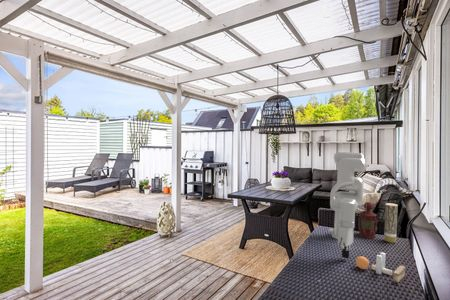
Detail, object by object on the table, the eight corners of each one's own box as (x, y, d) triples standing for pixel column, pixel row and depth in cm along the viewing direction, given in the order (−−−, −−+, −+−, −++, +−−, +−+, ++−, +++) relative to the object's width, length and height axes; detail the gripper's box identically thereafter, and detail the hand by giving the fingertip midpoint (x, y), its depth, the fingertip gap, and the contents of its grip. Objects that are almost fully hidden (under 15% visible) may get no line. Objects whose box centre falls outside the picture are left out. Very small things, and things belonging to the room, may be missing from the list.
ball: (367, 272, 127) (360, 271, 132) (374, 263, 128) (367, 262, 134) (357, 262, 128) (351, 261, 133) (364, 253, 129) (358, 253, 135)
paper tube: (392, 243, 169) (393, 205, 169) (381, 240, 175) (383, 203, 175) (398, 242, 172) (399, 205, 172) (387, 239, 178) (389, 202, 178)
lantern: (373, 240, 175) (374, 196, 174) (354, 235, 184) (356, 193, 184) (379, 236, 183) (381, 194, 183) (361, 232, 192) (363, 191, 192)
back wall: (393, 281, 119) (393, 272, 119) (400, 273, 127) (400, 265, 127) (398, 282, 117) (398, 274, 117) (404, 274, 126) (405, 266, 126)
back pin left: (378, 269, 130) (379, 253, 130) (380, 268, 132) (380, 251, 131) (383, 271, 128) (384, 254, 128) (385, 270, 130) (386, 253, 130)
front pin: (371, 265, 130) (391, 271, 124) (373, 263, 132) (392, 269, 125) (371, 269, 130) (390, 276, 124) (373, 268, 132) (392, 274, 125)
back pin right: (375, 272, 126) (375, 255, 126) (376, 271, 128) (377, 254, 128) (380, 274, 125) (381, 257, 125) (382, 273, 126) (382, 256, 126)
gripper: (345, 219, 148) (344, 251, 148) (333, 224, 138) (332, 258, 138) (359, 223, 143) (357, 256, 143) (348, 227, 133) (346, 263, 133)
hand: (345, 257), depth 141 cm, fingers closed
